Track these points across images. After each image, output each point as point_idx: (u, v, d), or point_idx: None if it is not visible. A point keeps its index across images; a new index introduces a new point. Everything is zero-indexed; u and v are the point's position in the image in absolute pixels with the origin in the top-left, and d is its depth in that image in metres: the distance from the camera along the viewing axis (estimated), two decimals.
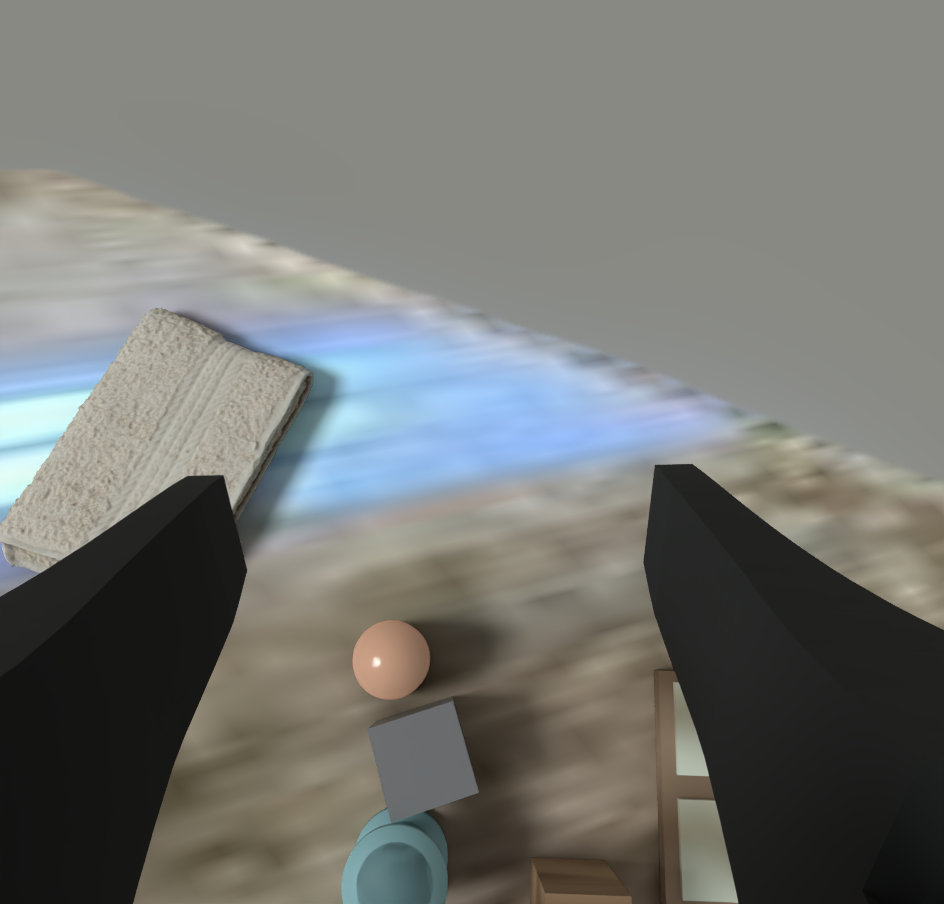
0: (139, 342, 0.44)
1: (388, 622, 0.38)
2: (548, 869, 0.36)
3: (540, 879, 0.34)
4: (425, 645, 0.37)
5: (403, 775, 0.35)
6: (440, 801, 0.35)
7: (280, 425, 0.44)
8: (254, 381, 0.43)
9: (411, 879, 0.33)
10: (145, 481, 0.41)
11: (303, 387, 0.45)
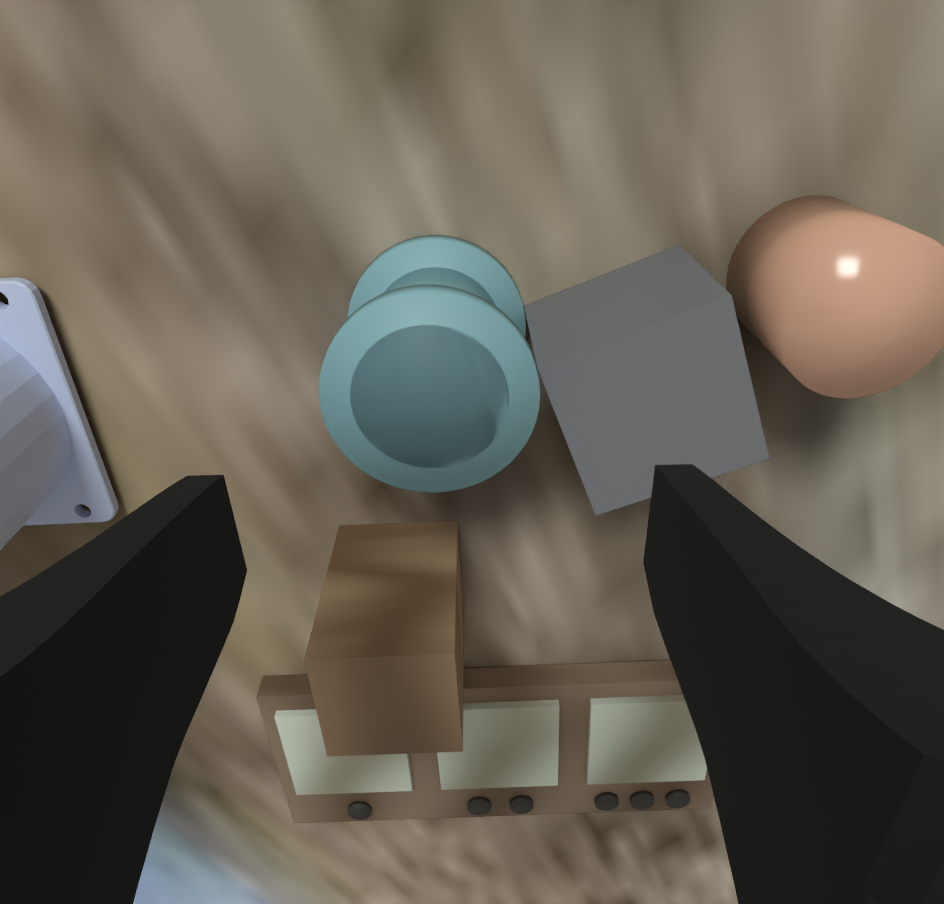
0: None
1: None
2: (457, 577, 0.22)
3: (455, 600, 0.20)
4: (884, 387, 0.17)
5: (630, 381, 0.16)
6: (579, 454, 0.17)
7: None
8: None
9: (443, 430, 0.16)
10: None
11: None
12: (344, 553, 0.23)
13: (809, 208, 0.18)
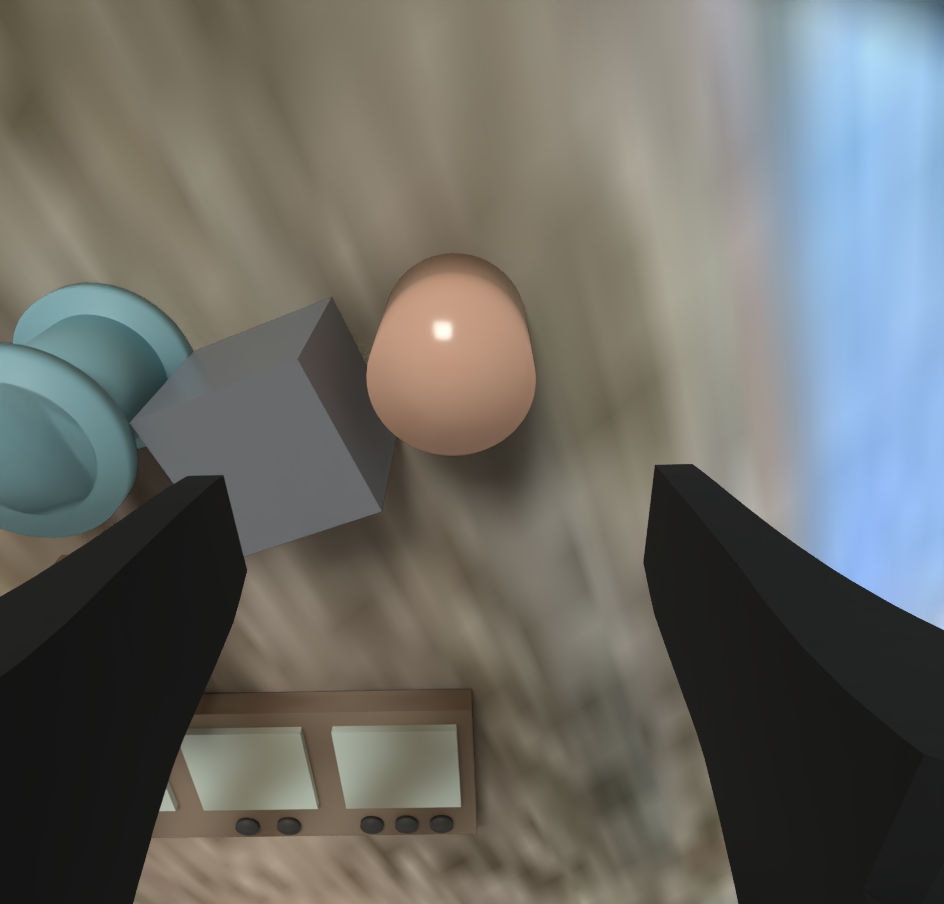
0: None
1: (530, 370, 0.16)
2: None
3: None
4: (485, 446, 0.18)
5: (223, 437, 0.17)
6: None
7: None
8: None
9: (40, 479, 0.17)
10: None
11: None
12: None
13: (430, 268, 0.18)
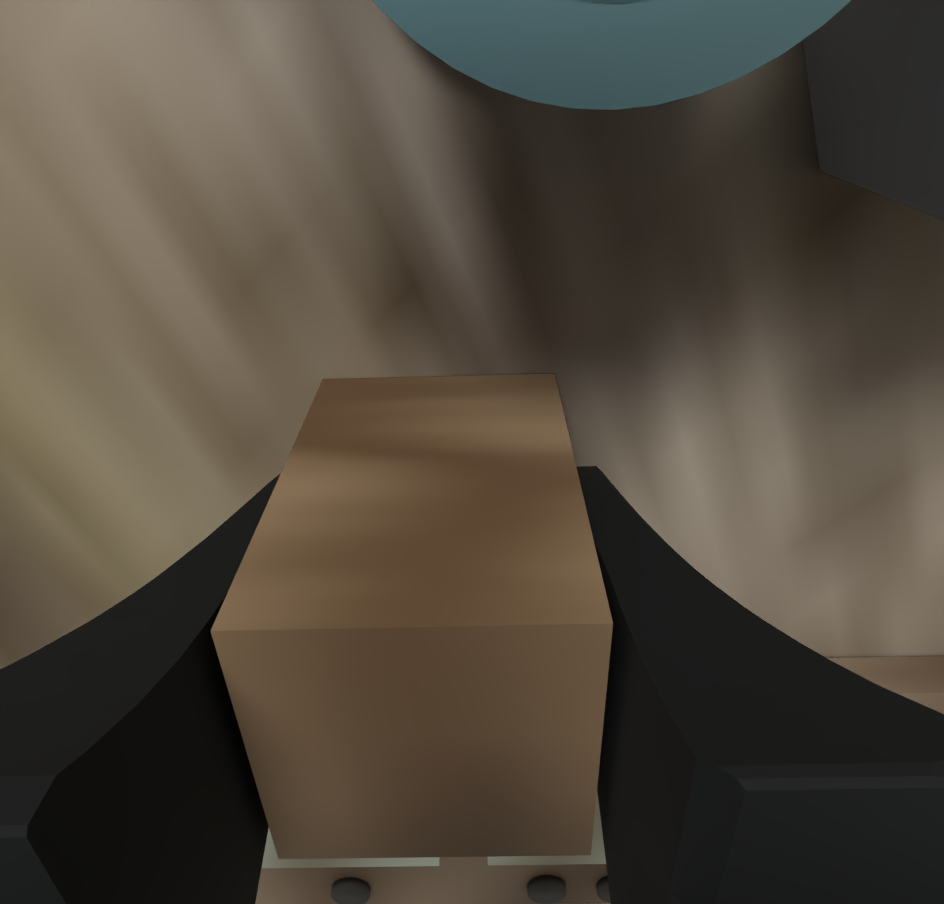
0: None
1: None
2: None
3: (583, 504, 0.09)
4: None
5: None
6: None
7: None
8: None
9: None
10: None
11: None
12: (329, 420, 0.11)
13: None
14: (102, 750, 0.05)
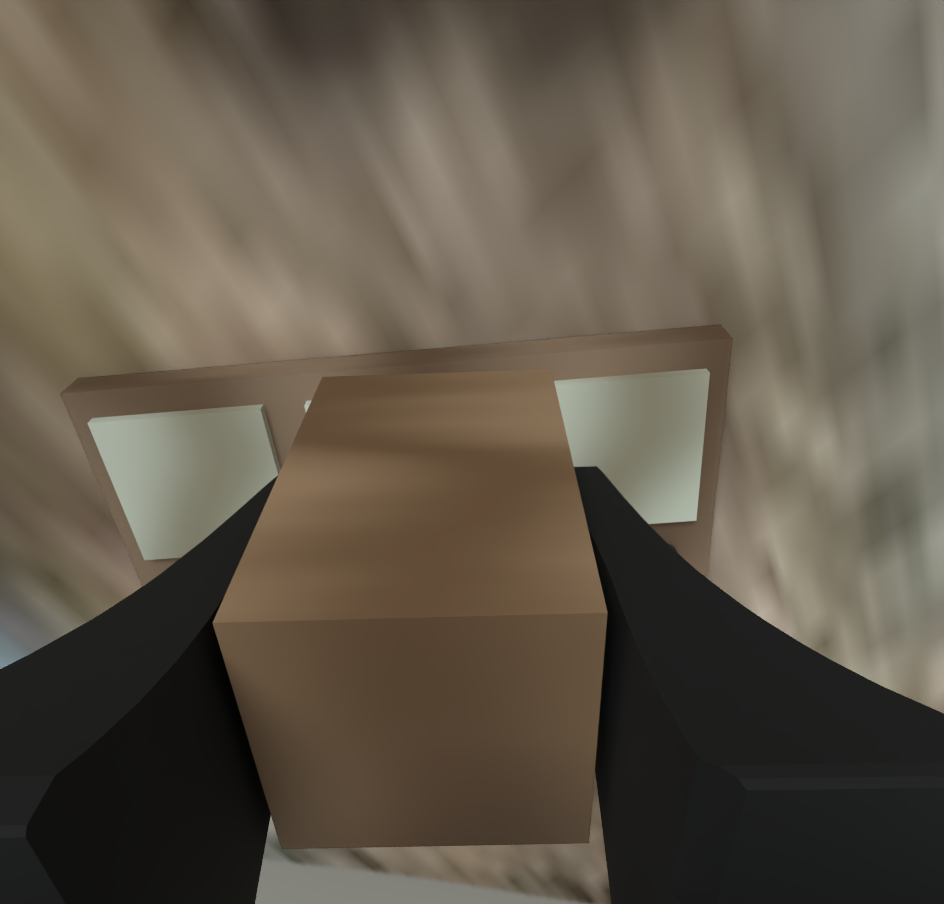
0: None
1: None
2: None
3: (579, 497, 0.09)
4: None
5: None
6: None
7: None
8: None
9: None
10: None
11: None
12: (328, 417, 0.11)
13: None
14: (101, 749, 0.05)
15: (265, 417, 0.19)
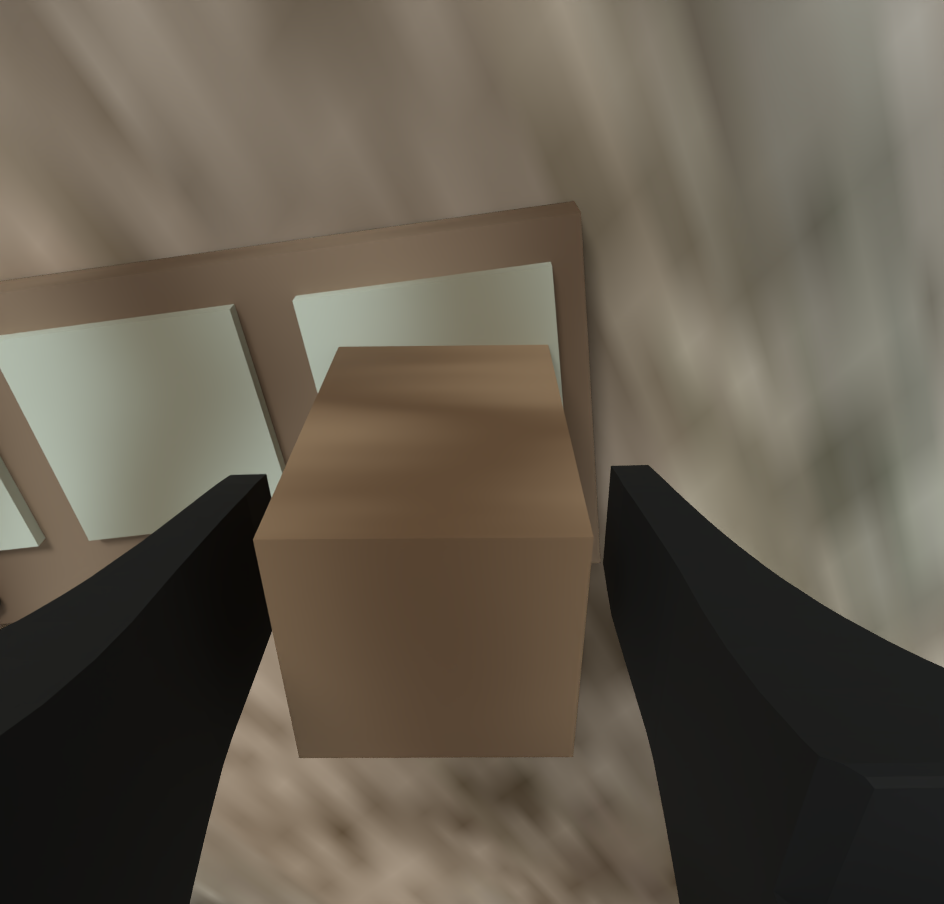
0: None
1: None
2: None
3: (571, 449, 0.10)
4: None
5: None
6: None
7: None
8: None
9: None
10: None
11: None
12: (346, 380, 0.12)
13: None
14: None
15: None
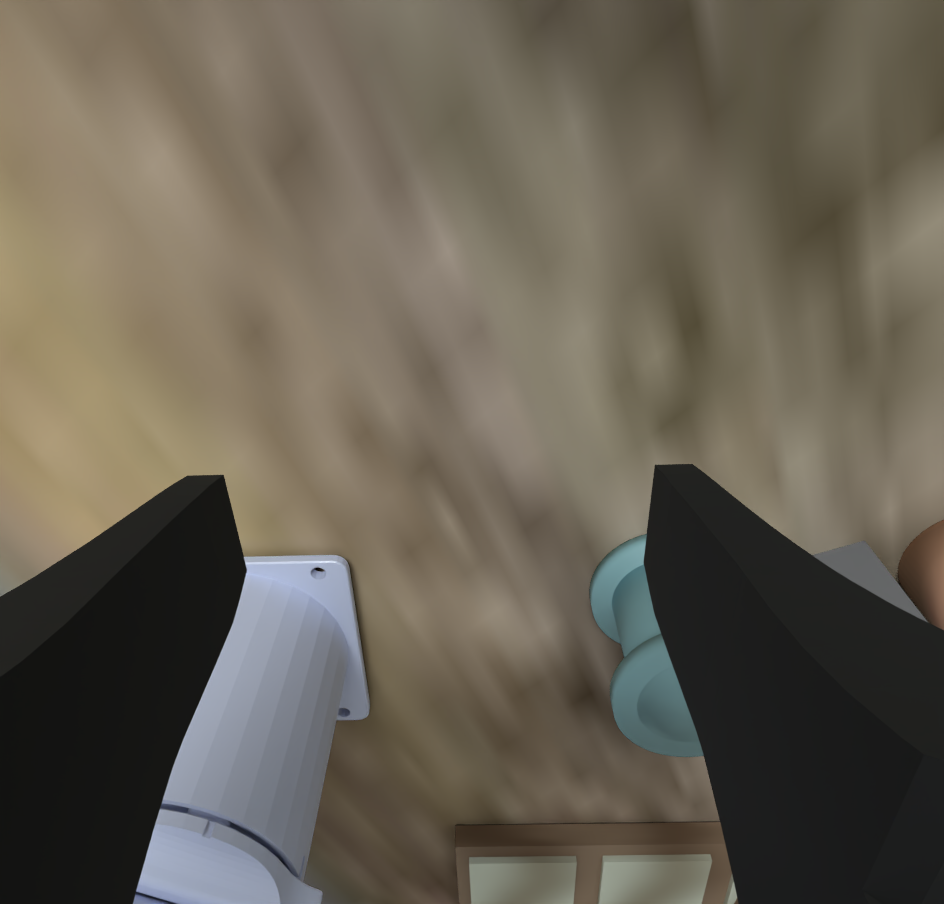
0: None
1: None
2: None
3: None
4: None
5: None
6: None
7: None
8: None
9: None
10: None
11: None
12: None
13: None
14: None
15: None
